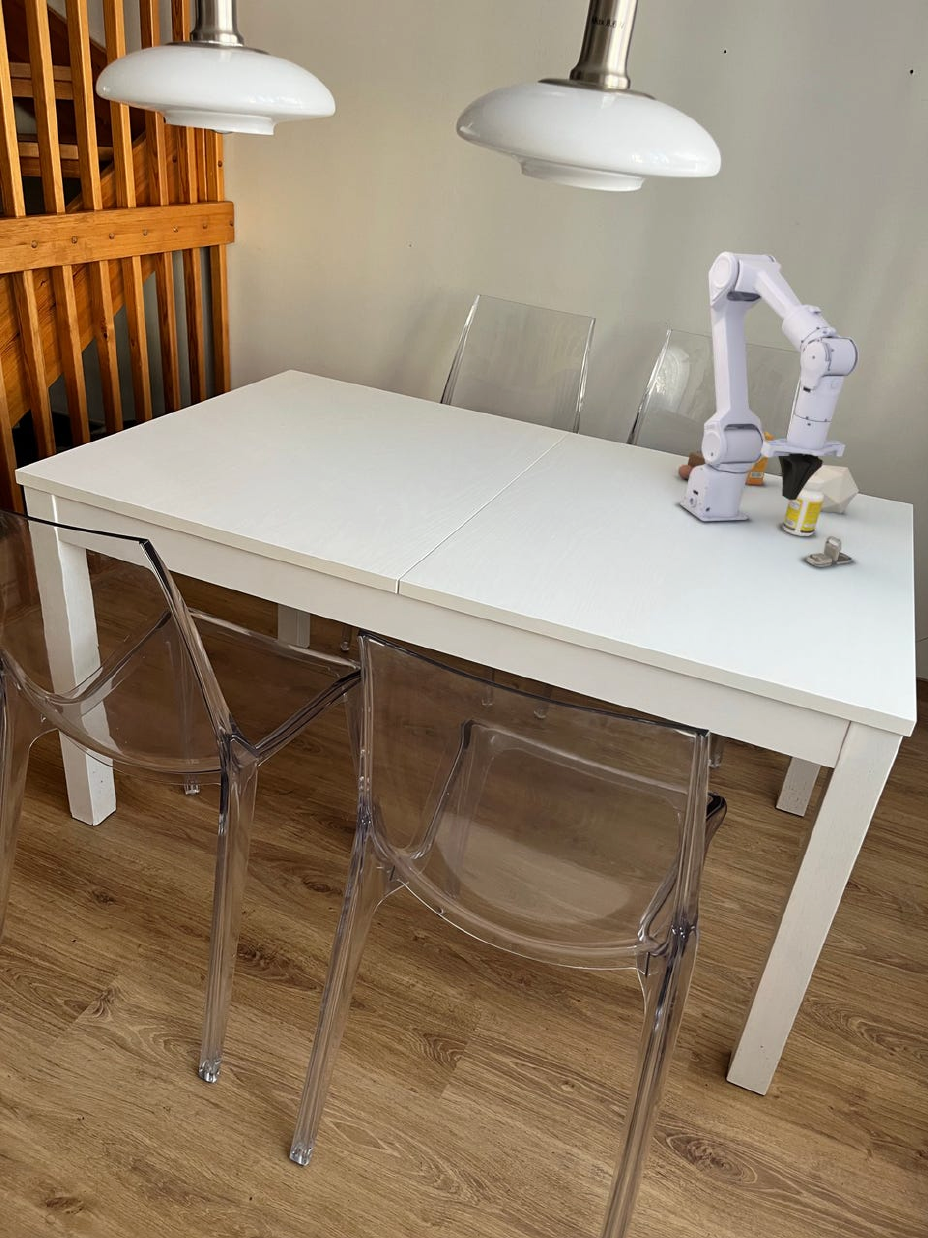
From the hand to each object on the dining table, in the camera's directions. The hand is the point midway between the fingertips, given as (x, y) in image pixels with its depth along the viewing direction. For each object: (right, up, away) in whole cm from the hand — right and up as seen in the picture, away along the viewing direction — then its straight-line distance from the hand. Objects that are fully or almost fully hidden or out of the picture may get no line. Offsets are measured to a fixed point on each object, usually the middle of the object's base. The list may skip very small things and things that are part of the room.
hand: (789, 497), depth 157 cm
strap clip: (+7, -10, +3) cm, 13 cm away
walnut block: (-6, +8, +32) cm, 34 cm away
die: (+15, +1, +25) cm, 30 cm away
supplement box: (+4, +7, +34) cm, 35 cm away
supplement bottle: (+6, -4, +14) cm, 16 cm away
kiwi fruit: (-9, +8, +32) cm, 34 cm away
